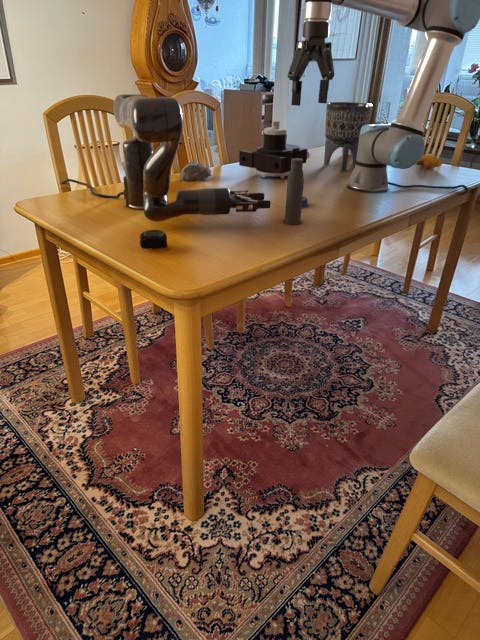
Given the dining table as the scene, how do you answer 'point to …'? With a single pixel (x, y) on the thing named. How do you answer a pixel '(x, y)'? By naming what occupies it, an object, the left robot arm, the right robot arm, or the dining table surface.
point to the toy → (429, 161)
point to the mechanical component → (273, 153)
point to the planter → (345, 128)
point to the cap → (304, 202)
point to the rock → (195, 172)
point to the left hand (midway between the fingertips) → (267, 200)
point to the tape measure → (153, 239)
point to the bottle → (294, 192)
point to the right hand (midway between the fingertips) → (309, 104)
